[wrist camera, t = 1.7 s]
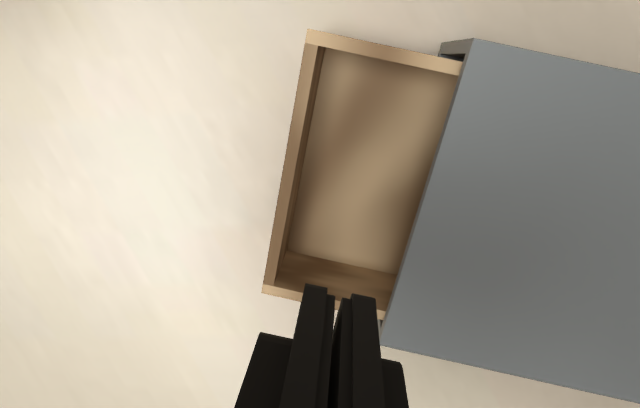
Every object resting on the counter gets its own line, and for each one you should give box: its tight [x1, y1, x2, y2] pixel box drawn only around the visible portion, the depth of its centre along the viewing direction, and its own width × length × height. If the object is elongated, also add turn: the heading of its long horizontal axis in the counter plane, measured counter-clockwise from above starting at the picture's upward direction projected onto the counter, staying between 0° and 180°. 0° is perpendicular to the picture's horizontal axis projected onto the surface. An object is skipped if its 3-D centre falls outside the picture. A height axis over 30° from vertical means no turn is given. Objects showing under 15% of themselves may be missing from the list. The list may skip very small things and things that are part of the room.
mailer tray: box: [262, 29, 463, 320], centre depth 23 cm, size 19×14×5 cm
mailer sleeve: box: [378, 38, 640, 404], centre depth 23 cm, size 20×16×7 cm
